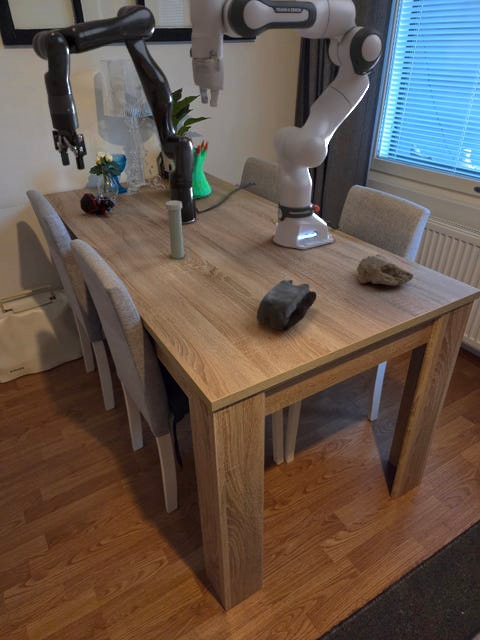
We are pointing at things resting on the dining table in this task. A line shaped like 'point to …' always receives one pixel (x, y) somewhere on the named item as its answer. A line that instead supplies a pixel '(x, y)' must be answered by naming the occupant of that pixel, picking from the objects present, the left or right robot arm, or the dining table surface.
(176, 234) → the bottle
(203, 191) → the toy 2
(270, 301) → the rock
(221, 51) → the right robot arm
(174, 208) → the lid
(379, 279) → the artifact
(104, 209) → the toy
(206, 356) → the dining table surface
